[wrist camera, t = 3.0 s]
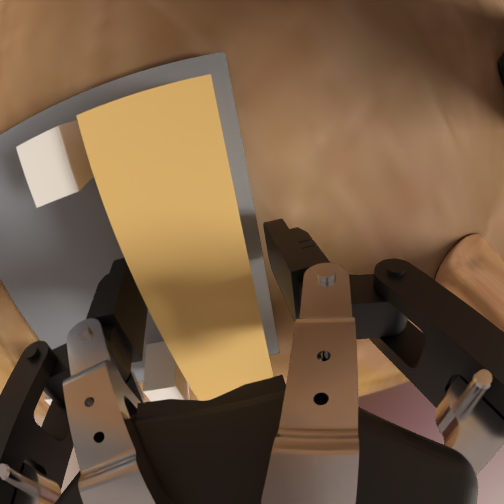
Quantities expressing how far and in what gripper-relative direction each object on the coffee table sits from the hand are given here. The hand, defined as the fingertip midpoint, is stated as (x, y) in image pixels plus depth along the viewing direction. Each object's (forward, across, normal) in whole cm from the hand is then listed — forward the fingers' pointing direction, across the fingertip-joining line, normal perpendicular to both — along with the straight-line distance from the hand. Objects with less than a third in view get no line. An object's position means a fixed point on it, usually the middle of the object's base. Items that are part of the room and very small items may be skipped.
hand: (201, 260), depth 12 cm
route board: (+2, +4, 0) cm, 4 cm away
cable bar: (+1, 0, 0) cm, 1 cm away
